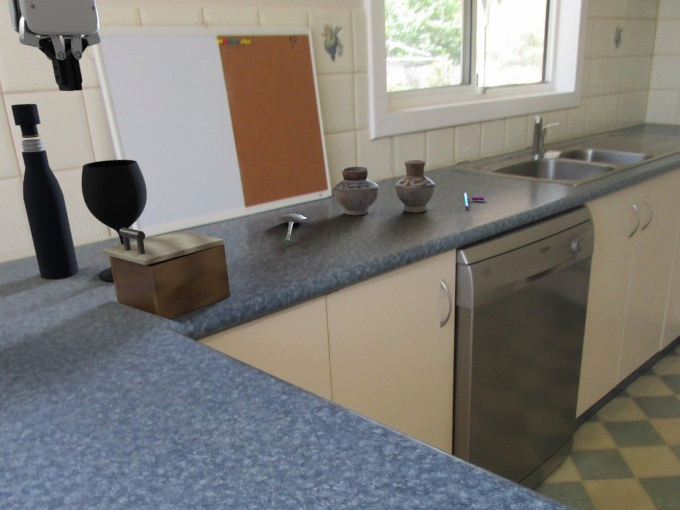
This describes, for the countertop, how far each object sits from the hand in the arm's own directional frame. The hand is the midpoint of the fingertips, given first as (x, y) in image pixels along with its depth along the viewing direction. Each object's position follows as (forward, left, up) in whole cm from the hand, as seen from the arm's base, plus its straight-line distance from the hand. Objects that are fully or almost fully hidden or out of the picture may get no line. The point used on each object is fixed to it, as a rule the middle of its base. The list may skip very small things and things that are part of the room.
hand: (70, 90), depth 92 cm
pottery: (-3, +76, -33) cm, 83 cm away
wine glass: (-15, +13, -33) cm, 39 cm away
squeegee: (+11, +96, -33) cm, 102 cm away
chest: (+5, +8, -33) cm, 34 cm away
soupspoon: (-9, +49, -33) cm, 60 cm away
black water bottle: (-26, +6, -33) cm, 43 cm away
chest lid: (+5, +8, -24) cm, 26 cm away
